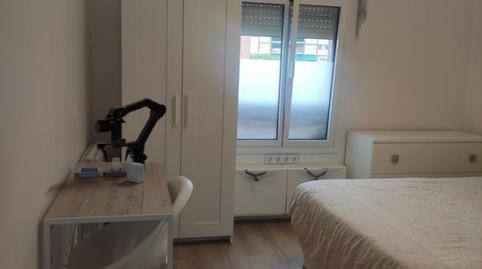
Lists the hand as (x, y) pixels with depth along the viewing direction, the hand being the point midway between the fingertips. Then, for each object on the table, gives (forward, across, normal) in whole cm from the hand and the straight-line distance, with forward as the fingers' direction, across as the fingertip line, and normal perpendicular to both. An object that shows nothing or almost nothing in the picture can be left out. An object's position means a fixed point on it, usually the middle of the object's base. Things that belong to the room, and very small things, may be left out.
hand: (116, 161), depth 227 cm
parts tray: (+6, -13, 0) cm, 15 cm away
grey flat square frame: (+6, 0, 0) cm, 6 cm away
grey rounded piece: (+6, 0, 0) cm, 6 cm away
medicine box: (+6, +8, -17) cm, 20 cm away
